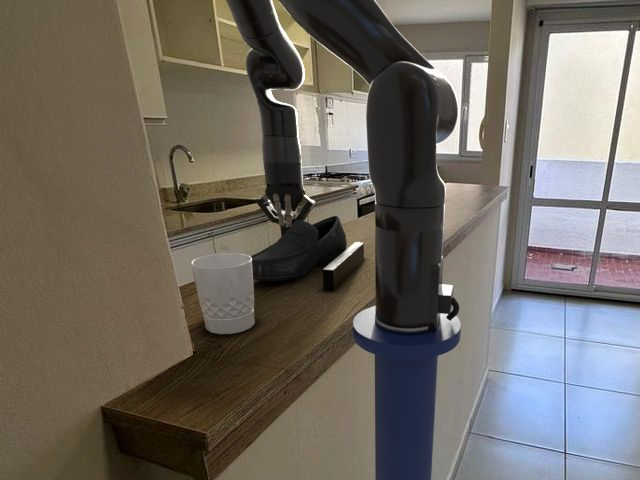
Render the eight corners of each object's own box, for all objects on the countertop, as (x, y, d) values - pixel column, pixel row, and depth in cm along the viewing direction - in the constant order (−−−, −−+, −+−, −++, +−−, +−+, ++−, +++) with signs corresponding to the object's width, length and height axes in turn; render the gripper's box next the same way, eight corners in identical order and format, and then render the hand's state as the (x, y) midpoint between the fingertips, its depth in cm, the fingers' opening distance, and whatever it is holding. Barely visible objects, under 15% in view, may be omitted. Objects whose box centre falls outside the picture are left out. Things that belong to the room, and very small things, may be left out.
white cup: (263, 314, 70) (256, 252, 67) (253, 335, 63) (245, 267, 59) (210, 315, 69) (200, 252, 65) (194, 337, 62) (182, 268, 58)
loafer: (231, 287, 82) (223, 231, 78) (314, 251, 107) (311, 208, 103) (279, 295, 79) (274, 238, 75) (353, 256, 104) (352, 212, 100)
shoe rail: (364, 259, 102) (363, 242, 100) (334, 291, 82) (333, 270, 80) (355, 259, 102) (355, 242, 100) (323, 290, 82) (322, 269, 80)
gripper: (243, 159, 89) (252, 244, 96) (306, 162, 88) (312, 248, 94) (260, 157, 96) (268, 237, 102) (319, 160, 94) (323, 240, 101)
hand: (289, 242), depth 98 cm, fingers closed
